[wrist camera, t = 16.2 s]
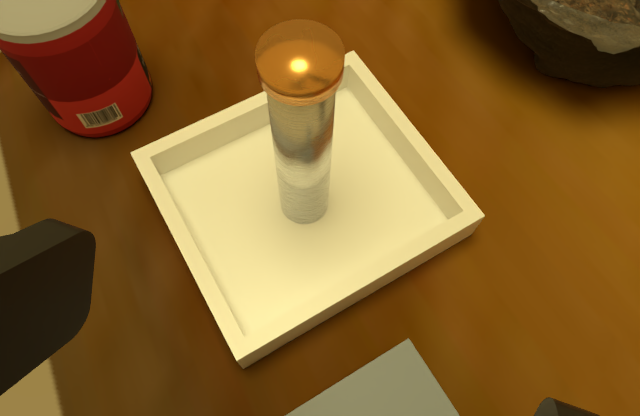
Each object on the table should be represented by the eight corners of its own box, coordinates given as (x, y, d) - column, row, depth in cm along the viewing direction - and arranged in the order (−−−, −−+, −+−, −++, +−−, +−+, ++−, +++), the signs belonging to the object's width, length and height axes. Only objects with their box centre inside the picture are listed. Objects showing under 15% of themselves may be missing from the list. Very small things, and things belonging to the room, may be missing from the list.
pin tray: (350, 78, 42) (353, 50, 39) (471, 234, 37) (485, 215, 34) (144, 175, 38) (130, 152, 35) (243, 369, 32) (236, 361, 30)
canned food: (174, 82, 42) (131, -33, 32) (112, 157, 39) (43, 55, 29) (98, 47, 43) (35, -74, 33) (33, 116, 40) (-59, 6, 30)
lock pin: (314, 168, 38) (315, 7, 24) (343, 211, 37) (362, 65, 23) (266, 193, 37) (239, 40, 23) (293, 238, 36) (282, 103, 22)
